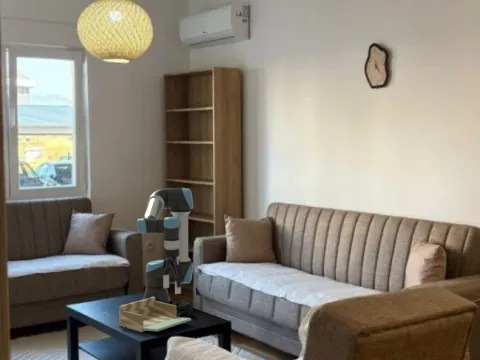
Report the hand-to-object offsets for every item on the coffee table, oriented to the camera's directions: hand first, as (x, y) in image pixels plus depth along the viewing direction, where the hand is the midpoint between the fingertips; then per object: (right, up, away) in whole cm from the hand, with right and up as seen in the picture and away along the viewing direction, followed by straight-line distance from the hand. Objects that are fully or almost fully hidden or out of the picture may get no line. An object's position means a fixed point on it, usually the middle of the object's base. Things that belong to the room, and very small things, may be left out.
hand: (172, 290), depth 326 cm
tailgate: (-6, -16, -1) cm, 17 cm away
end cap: (+4, -16, +21) cm, 27 cm away
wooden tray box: (-12, -17, +4) cm, 21 cm away
